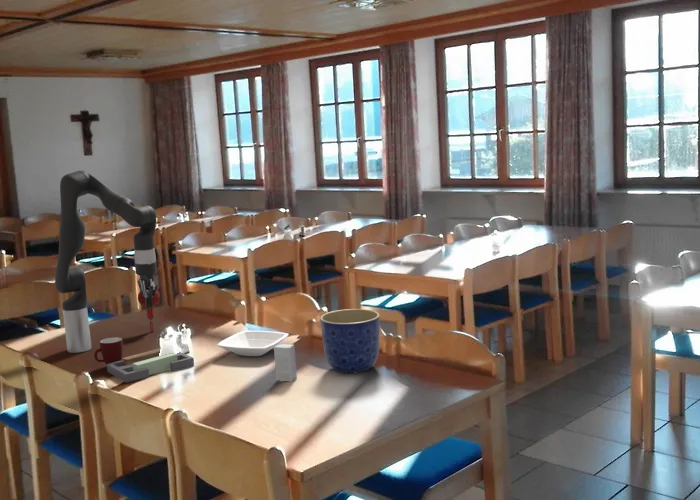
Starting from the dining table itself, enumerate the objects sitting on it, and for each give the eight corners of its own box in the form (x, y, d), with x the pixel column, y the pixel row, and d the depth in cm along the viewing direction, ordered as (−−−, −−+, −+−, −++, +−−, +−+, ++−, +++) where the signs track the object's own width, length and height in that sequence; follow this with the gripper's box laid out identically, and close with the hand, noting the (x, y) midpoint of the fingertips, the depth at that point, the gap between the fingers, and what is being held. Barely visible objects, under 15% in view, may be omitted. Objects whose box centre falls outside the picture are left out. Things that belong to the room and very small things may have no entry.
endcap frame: (107, 371, 298) (106, 363, 298) (173, 356, 314) (172, 348, 313) (126, 382, 284) (125, 374, 284) (194, 365, 300) (193, 357, 299)
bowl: (213, 360, 306) (211, 345, 305) (243, 343, 327) (242, 329, 326) (266, 364, 297) (265, 349, 296) (294, 346, 318) (293, 332, 317)
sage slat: (134, 376, 291) (132, 363, 291) (172, 365, 302) (171, 352, 301) (139, 378, 289) (137, 365, 288) (178, 367, 300) (176, 354, 299)
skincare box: (297, 378, 279) (294, 344, 277) (292, 382, 275) (290, 347, 273) (280, 377, 281) (278, 343, 279) (275, 381, 277) (273, 347, 275)
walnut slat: (124, 371, 299) (122, 358, 298) (162, 360, 309) (161, 347, 309) (128, 373, 296) (127, 359, 295) (167, 362, 307) (166, 349, 306)
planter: (394, 366, 287) (391, 313, 284) (354, 382, 272) (351, 326, 269) (351, 356, 301) (348, 306, 298) (310, 371, 286) (307, 318, 283)
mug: (100, 372, 298) (97, 346, 296) (92, 367, 304) (89, 341, 303) (128, 366, 304) (125, 340, 302) (120, 361, 310) (117, 336, 309)
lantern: (160, 334, 348) (154, 264, 343) (138, 335, 348) (131, 265, 343) (165, 328, 357) (159, 260, 352) (144, 329, 357) (137, 261, 352)
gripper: (128, 260, 301) (132, 305, 304) (142, 265, 291) (146, 312, 294) (147, 257, 306) (151, 302, 309) (162, 262, 295) (166, 308, 298)
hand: (149, 307), depth 301 cm, fingers closed
